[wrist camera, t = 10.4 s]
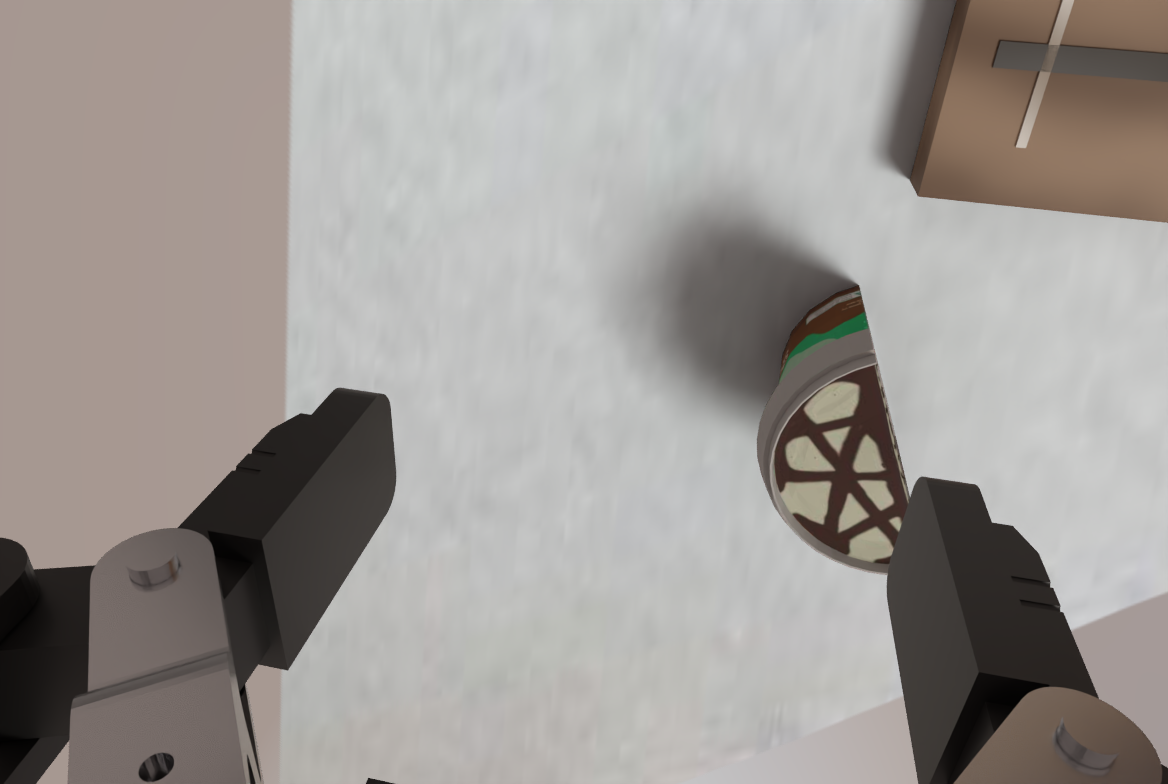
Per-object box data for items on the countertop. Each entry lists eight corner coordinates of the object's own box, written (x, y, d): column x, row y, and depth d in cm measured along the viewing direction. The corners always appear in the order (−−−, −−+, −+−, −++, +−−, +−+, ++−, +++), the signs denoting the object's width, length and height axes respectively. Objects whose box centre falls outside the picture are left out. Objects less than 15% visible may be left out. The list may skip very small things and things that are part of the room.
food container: (731, 290, 43) (721, 385, 34) (852, 258, 41) (874, 350, 32) (790, 478, 48) (794, 601, 39) (900, 458, 46) (930, 583, 37)
